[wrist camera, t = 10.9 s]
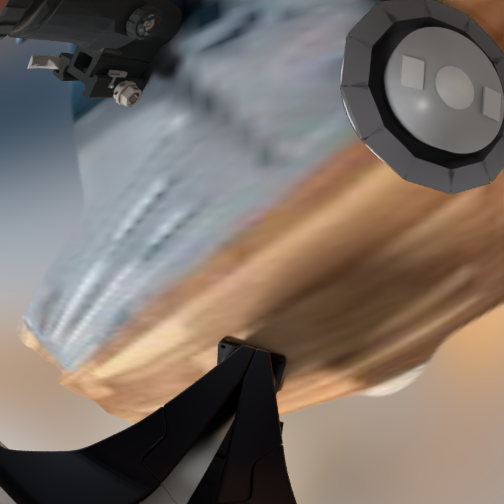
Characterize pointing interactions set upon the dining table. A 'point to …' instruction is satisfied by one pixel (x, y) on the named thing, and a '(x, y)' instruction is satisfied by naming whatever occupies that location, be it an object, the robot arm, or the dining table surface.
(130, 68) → the scope
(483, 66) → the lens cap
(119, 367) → the dining table surface
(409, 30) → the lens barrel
